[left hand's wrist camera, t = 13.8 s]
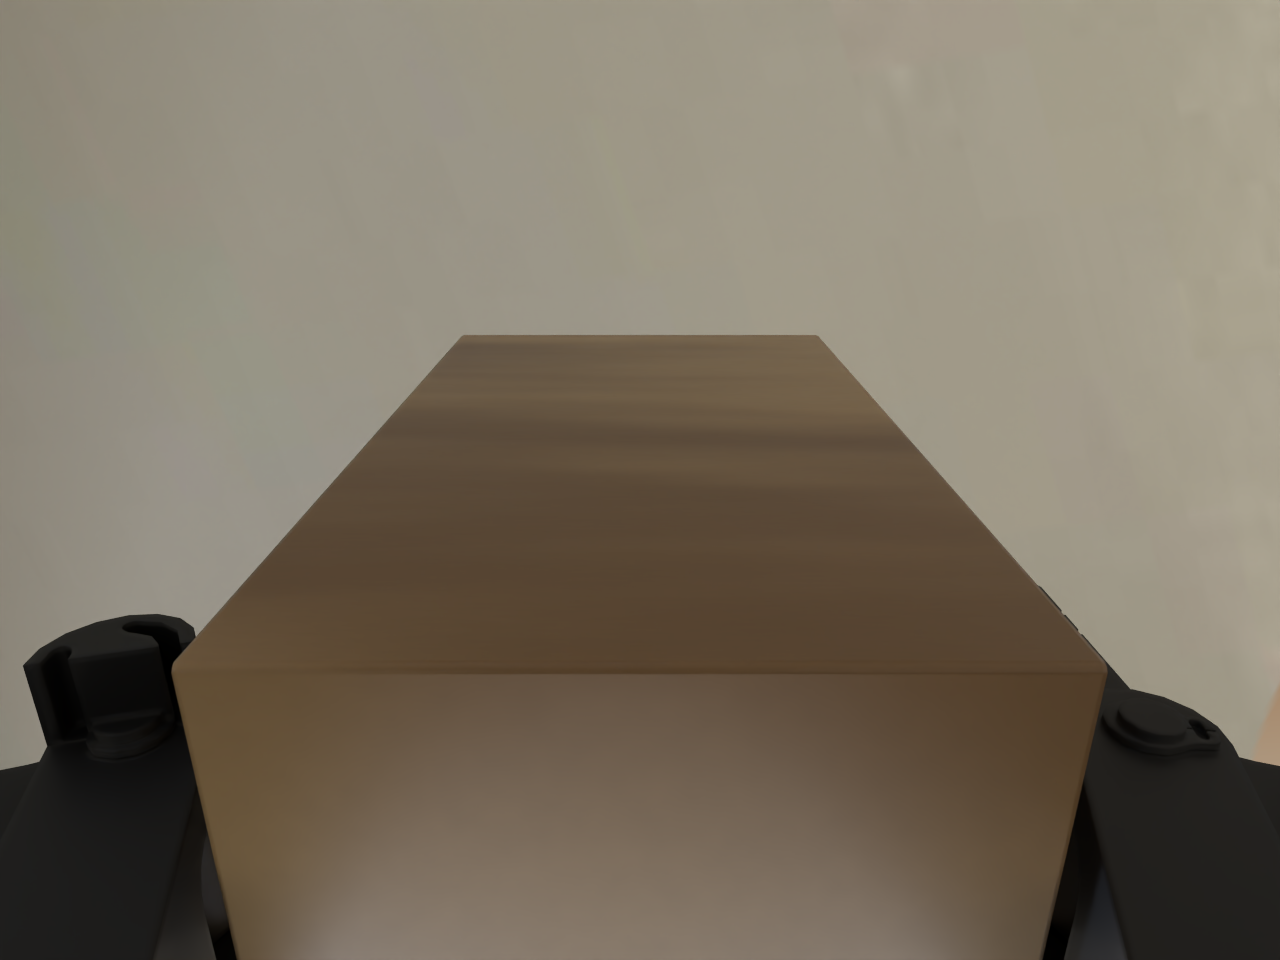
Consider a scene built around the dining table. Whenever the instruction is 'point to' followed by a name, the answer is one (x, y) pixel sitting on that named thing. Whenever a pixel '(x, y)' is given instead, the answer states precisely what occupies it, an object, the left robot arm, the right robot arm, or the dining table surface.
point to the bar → (639, 680)
